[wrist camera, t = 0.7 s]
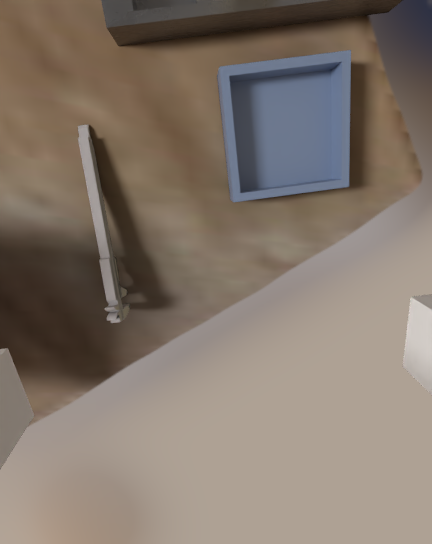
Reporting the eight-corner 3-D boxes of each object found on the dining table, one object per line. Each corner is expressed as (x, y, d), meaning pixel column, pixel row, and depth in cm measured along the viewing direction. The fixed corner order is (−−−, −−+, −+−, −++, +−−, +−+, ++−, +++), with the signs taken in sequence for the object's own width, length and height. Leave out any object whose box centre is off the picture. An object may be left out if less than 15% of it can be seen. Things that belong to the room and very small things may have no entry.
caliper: (131, 306, 38) (120, 331, 32) (122, 307, 38) (109, 332, 32) (89, 124, 31) (65, 114, 26) (78, 126, 31) (51, 116, 26)
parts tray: (217, 76, 31) (219, 66, 28) (336, 61, 31) (350, 50, 28) (230, 199, 34) (233, 202, 32) (336, 185, 35) (349, 186, 32)
